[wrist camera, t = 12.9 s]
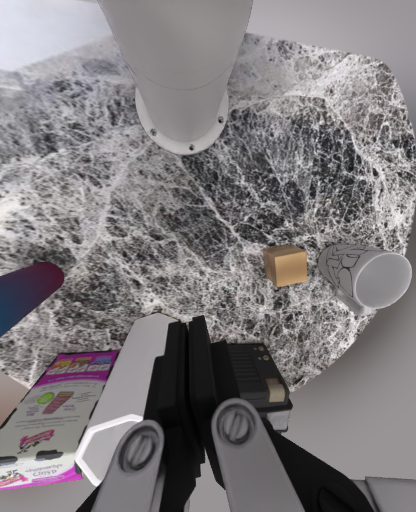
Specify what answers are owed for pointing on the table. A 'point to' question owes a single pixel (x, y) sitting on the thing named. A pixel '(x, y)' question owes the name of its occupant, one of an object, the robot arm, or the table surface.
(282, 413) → the camera
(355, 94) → the table surface
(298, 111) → the table surface
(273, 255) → the block
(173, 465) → the robot arm
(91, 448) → the cup
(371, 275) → the mug
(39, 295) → the cup
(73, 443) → the candy bar box
